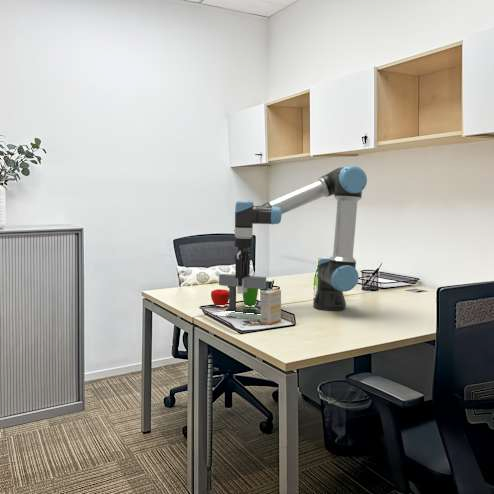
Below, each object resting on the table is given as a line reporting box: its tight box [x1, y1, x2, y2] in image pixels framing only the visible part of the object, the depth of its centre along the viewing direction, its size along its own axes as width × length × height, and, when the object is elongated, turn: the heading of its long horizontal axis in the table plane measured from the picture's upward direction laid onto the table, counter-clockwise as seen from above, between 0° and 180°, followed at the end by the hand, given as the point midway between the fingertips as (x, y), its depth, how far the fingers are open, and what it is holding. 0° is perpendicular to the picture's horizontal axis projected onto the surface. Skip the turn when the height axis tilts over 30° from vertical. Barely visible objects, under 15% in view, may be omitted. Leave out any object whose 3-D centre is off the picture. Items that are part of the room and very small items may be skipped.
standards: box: [224, 280, 273, 314], centre depth 222 cm, size 21×6×14 cm, turn 70°
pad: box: [226, 312, 261, 321], centre depth 215 cm, size 22×7×1 cm, turn 70°
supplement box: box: [259, 288, 282, 326], centre depth 204 cm, size 8×5×13 cm, turn 141°
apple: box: [210, 288, 229, 306], centre depth 235 cm, size 9×9×8 cm
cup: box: [242, 288, 259, 306], centre depth 235 cm, size 9×9×11 cm
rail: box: [218, 273, 267, 290], centre depth 213 cm, size 20×4×4 cm, turn 70°
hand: (242, 292), depth 214 cm, fingers closed on rail, 3 cm apart
